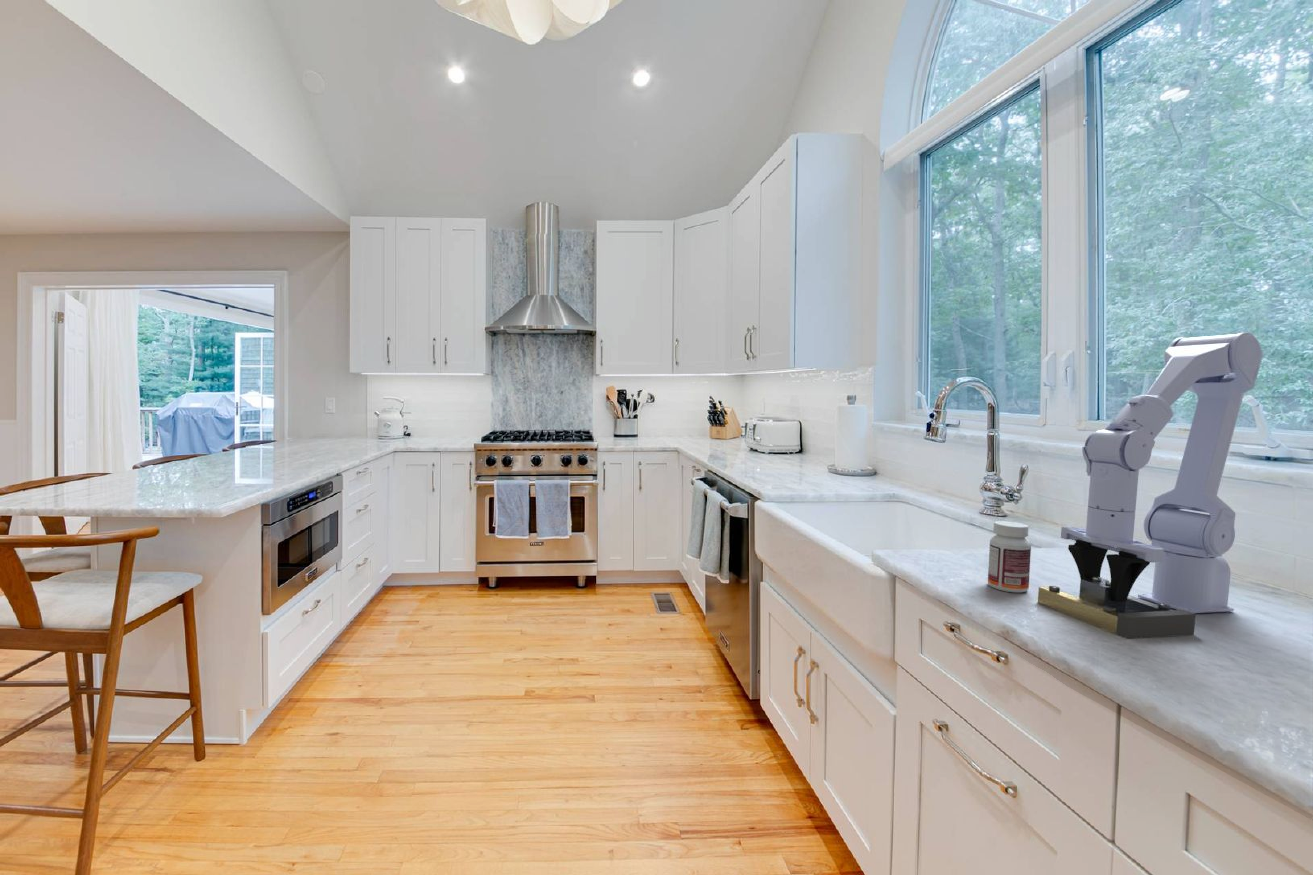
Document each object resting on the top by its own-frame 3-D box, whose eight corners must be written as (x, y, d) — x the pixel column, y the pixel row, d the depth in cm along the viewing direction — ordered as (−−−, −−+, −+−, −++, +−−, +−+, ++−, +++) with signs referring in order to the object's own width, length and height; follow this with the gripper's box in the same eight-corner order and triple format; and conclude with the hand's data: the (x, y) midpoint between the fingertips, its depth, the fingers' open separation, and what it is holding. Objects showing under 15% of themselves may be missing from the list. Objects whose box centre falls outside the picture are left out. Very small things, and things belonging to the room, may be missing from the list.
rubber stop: (1181, 630, 83) (1183, 609, 83) (1193, 634, 82) (1195, 613, 81) (1116, 634, 81) (1117, 613, 81) (1127, 638, 79) (1129, 617, 79)
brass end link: (1047, 601, 94) (1048, 582, 94) (1126, 633, 81) (1128, 612, 81) (1037, 601, 94) (1039, 583, 93) (1116, 634, 81) (1118, 612, 81)
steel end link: (1096, 599, 96) (1097, 581, 96) (1181, 630, 83) (1183, 609, 83) (1087, 599, 95) (1088, 581, 95) (1171, 630, 83) (1173, 609, 83)
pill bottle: (1035, 590, 100) (1039, 525, 99) (1017, 595, 96) (1021, 528, 96) (998, 580, 105) (1002, 519, 104) (980, 585, 101) (983, 522, 101)
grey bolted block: (1099, 609, 91) (1101, 574, 91) (1124, 618, 87) (1127, 583, 87) (1078, 610, 90) (1080, 575, 90) (1102, 619, 86) (1105, 583, 86)
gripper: (1048, 500, 94) (1041, 581, 95) (1138, 518, 80) (1130, 614, 81) (1083, 500, 95) (1077, 580, 96) (1178, 518, 81) (1170, 611, 82)
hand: (1103, 595), depth 89 cm, fingers closed on grey bolted block, 4 cm apart
